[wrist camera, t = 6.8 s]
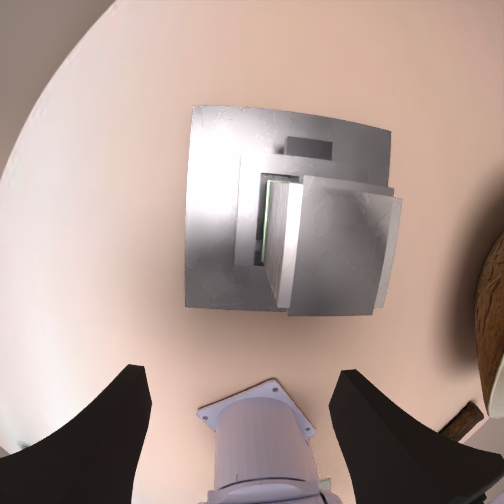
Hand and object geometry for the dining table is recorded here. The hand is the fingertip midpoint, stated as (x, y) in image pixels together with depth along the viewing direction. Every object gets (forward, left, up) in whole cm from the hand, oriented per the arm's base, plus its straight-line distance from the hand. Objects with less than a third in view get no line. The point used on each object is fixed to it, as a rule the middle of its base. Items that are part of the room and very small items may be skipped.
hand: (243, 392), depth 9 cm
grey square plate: (+3, -5, -10) cm, 12 cm away
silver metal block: (+3, -5, -7) cm, 9 cm away
